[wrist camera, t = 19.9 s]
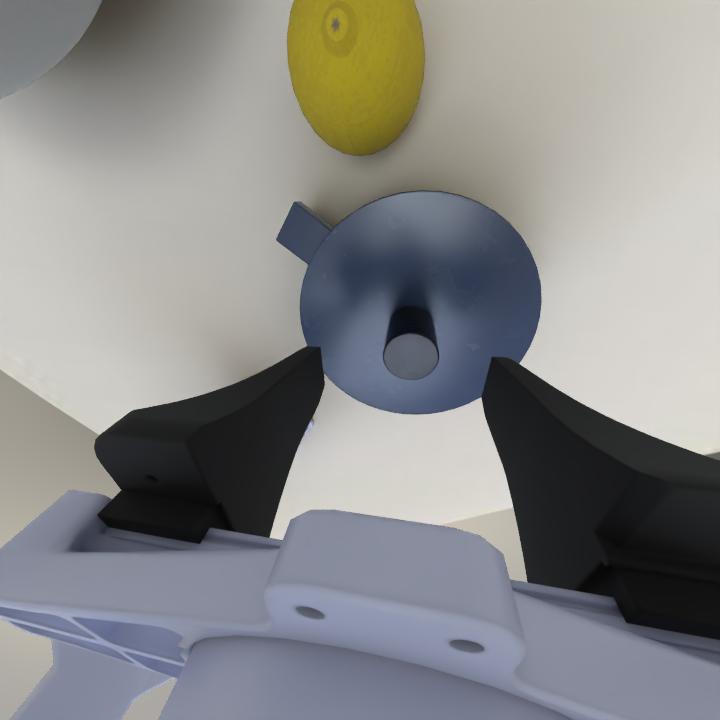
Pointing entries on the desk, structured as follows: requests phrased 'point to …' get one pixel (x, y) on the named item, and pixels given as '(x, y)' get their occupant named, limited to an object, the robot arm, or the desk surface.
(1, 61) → the decorative bowl
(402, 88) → the lemon
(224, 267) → the desk surface
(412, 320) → the pot lid
